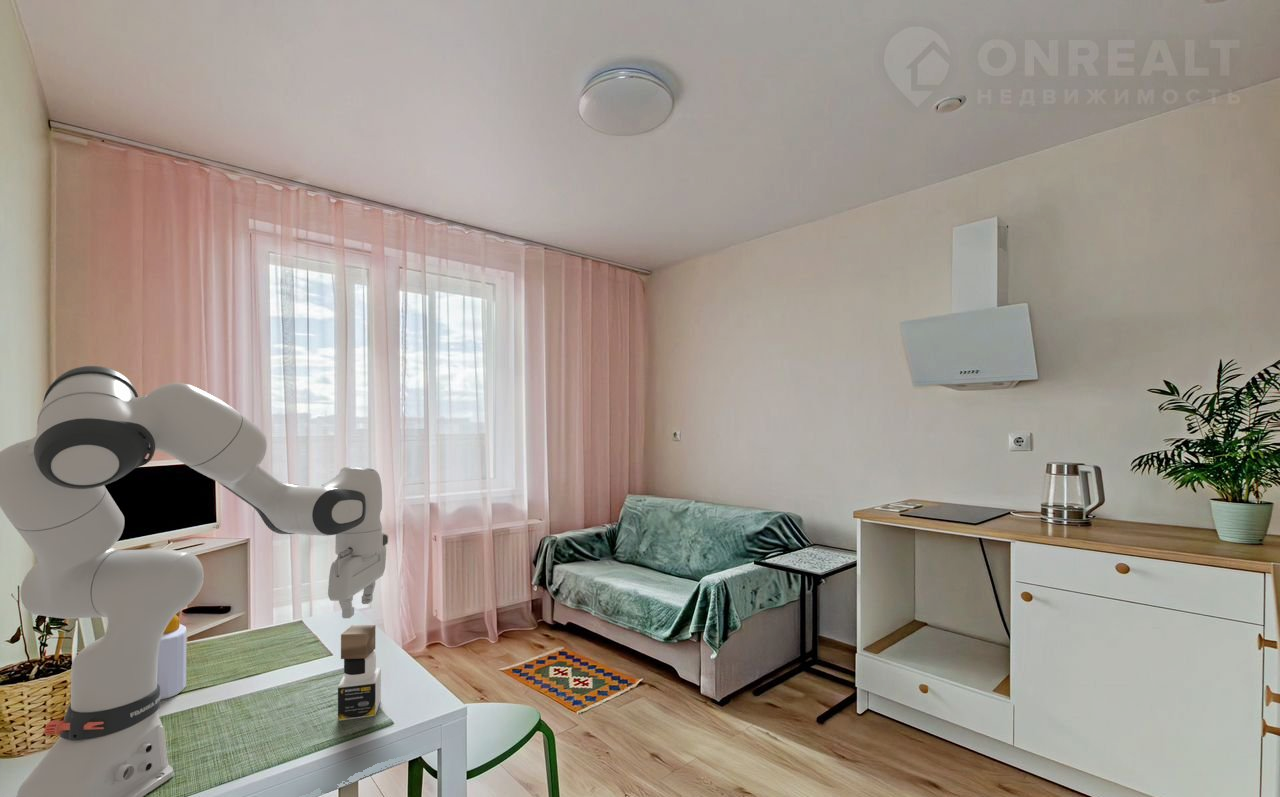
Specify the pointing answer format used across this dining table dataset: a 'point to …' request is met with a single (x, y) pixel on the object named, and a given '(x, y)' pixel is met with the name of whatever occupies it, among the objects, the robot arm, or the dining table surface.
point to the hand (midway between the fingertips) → (357, 609)
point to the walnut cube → (358, 642)
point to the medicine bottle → (359, 688)
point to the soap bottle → (172, 659)
